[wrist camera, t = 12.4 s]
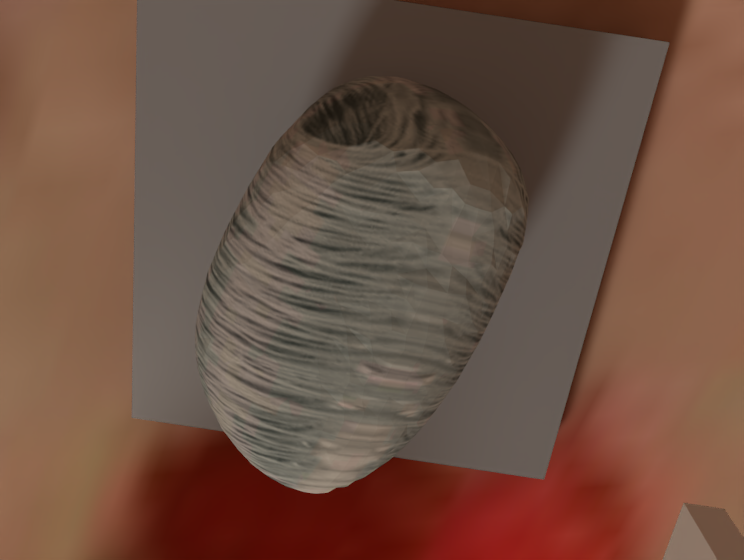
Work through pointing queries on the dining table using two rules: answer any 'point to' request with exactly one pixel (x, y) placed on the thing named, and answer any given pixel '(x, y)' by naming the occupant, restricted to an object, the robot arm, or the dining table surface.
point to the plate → (431, 68)
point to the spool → (357, 279)
